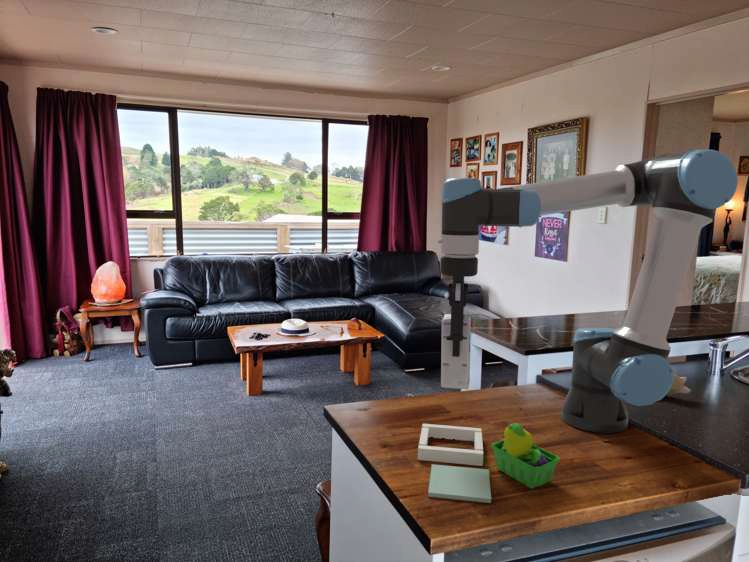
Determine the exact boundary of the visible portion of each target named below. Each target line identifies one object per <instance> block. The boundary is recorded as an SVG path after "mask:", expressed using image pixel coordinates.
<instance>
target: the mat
mask: <svg viewBox="0 0 749 562" xmlns="http://www.w3.org/2000/svg"><path fill="white" fill-rule="evenodd" d="M490 480H491V479H490V470H489V469H486V468H476V467H475V468H474V467H465V466H454V465H453V466H452V465H445V464H444V465H443V464H432V463H431V468H430V475H429V484H428V491H427V492H428V493H427V496H428V498H429V497H430V498H438V499H447V500H457V501H468V502H477V503H485V504H487V503H488V504H491V503H492V493H491V492H492V491H491V482H490Z"/></svg>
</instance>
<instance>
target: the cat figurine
mask: <svg viewBox="0 0 749 562" xmlns="http://www.w3.org/2000/svg"><path fill="white" fill-rule="evenodd" d="M673 374H674V380H673V384H672V386H671V388H670V390H669V392H668V393H667V394H666V395H670V396H672V395H676V394H678V393H679V394H684V395H685V394H689V393H691V391H692V390H691V389H690V388H688V387H687V386H686V385H684V384H685V383H686V382H687V379H688V378H687V376H679V375H678V374H676V373H673Z"/></svg>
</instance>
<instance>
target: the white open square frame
mask: <svg viewBox="0 0 749 562" xmlns="http://www.w3.org/2000/svg"><path fill="white" fill-rule="evenodd" d="M430 437H433V438H432V439H442V438H445V439H444V440H453V439H455V441H466V442H467V441H469V442H473V443H474V444H473V445H474V447H473V448H474V449H465V448H455V447H443V446H435V445H434V446H432V445H428V443H429V438H430ZM418 441H419V442H418V446H417V447H418V448H417V460H418V461H424V462H425V461H427V462H437V463H445V464H447V463H448V464H459V465H468V466H470V465H471V466H477V467H478V466H481V467H483V465H484V446H483V445H484V444H483V433H482V428H479V427H472V426H471V427H470V426H469V427H468V426H458V425H457V426H456V425H455V426H454V425H445V424H432V423H431V424H430V423H422V425H421V432H420V435H419V440H418Z"/></svg>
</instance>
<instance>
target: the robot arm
mask: <svg viewBox="0 0 749 562" xmlns="http://www.w3.org/2000/svg"><path fill="white" fill-rule="evenodd" d="M738 177H739V176H738V172H737V169H736V167H735V166H734V165H733V162H732V160H731V159H730V158H729V157H728V156H727V155H726V154H724V153H722V152H721V151H718V150H715V149H700V148H698V149H692V150H687V151H680V152H674V153H673V152H672V153H664V154H660V155H657V156H652V157H650V158H646V159H642V160H639V161H636V162H631V163H625V164H620V165H617V166H616V167H615V168H614V169H613V170H610V171H603V172H597V173H592V174H591V173H590V174H583V175H577V176H572V177H566V178H565V177H564V178H558V179H552V180H545V181H540V182H534V183H533V182H532V183H526V184H520V185H514V186H513V185H512V186H507V187H500V188H492V189H491V188H490V189H489V188H482V182H481V179H479V178H471V177H450V178H448V179H446V180H445V181H444V182H443V186H442V187H443V188H442V196H441V197H442V198H441V238H438V240H437V243H438V244H441V245H440V253H441V254H442V256H441V257H440V266H439V267H440V268H439V272H440V274H441V275H442V276H446V277H452V282H448V285H447V286H448V287H447V288H448V289H447V290H448V291H447V292H448V294H449V296H448V304H449V306H450V309H451V310H450V314H451V330H450V337H447V338H446V340H450V342H449V371H454V372H462V360H463V337H464V336H463V315H464V314H465V311H464V309H465V307H466V306H467V294H469V293H468V292H469V283H468V282H467V283H465V277H466V278H467V277H468V278H469V277H470V278H471V277H474V276H477V275H478V266H479V265H478V264H479V258H478V257H477V256H476V255H478V254H479V252H480V249H479V247H480V246H479V245H480V227H508V228H509V227H510V228H511V227H519V228H523V227H533V226H535V225H536V224H537V223H538V221H539V219H540V217H543V216H548V215H555V214H559V213H560V214H562V213H567V212H573V211H580V210H585V209H586V210H587V209H593V208H599V207H605V206H611V205H618V206H619V207H622V208H627V207H636V206H637V207H638V206H644V207H645V206H648V207H651V211H652V213H653V214H654V217H655V218H656V219H655V223H654V226H653V229H652V233H651V236H650V239H649V242H648V245H647V248H646V252H645V254H644V258H643V261H642V264H641V268H640V270H639V273H638V276H637V279H636V283H635V287H634V289H633V293H632V296H631V299H630V302H629V306H628V308H627V312H626V315H625V319H624V322H623V325H622V326H621V327H619V328H611V327H580V328H578V329H577V330H576V331H575V333H574V338H573V342H572V344H573V347H572V348H573V351H572V365H571V379H570V381H571V382H570V388H569V391H568V392H567V394H566V397H565V399H564V401H563V403H562V406H561V413H560V414H561V415H560V417H561V420H563V422H565V423H566V424H567V425H570V426H572V427H573V428H574V427H575V428H576V429H580V430H583V431H588V432H591V433H593V432H594V433H598V434H599V433H601V434H613V433H619V432H620V433H621V432H623V431H625V430H626V429H628V425H629V416H628V411H627V407H626V404H625V402H626V403H628V404H629V405H633V406H635V407H645V406H650V405H653V404H654V403H656V402H658V401H661V400H663V398H665V397H666V396H665V395H666V394H667V393H668V392H669V390H670V388H671V386H672V384H673V380H674V374H675V373H674V370H673V369H672V365H671V363H670V362H669V361H668V359H669V356H670V352H671V349H672V347H671V346H670V344H669V342H668V340H667V335H668V333H669V329H670V327H671V323H672V320H673V317H674V314H675V311H676V307H677V304H678V302H679V299H680V296H681V292H682V289H683V287H684V284H685V280H686V277H687V274H688V270H689V267H690V264H691V261H692V258H693V255H694V252H695V249H696V246H697V243H698V239H699V236H700V234H701V230H702V229H703V228H704V227H705V226H707V225H708V224H711V223H713V220H714V218H715V215H716V211H717V209H718V208H721V207H722V206H724V205H725V204H727V203H729V202H730V201H731V200H732V199H733V197H734V196H735V194H736V192H737V188H738V181H739V180H738ZM457 333H459V334H457Z"/></svg>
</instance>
